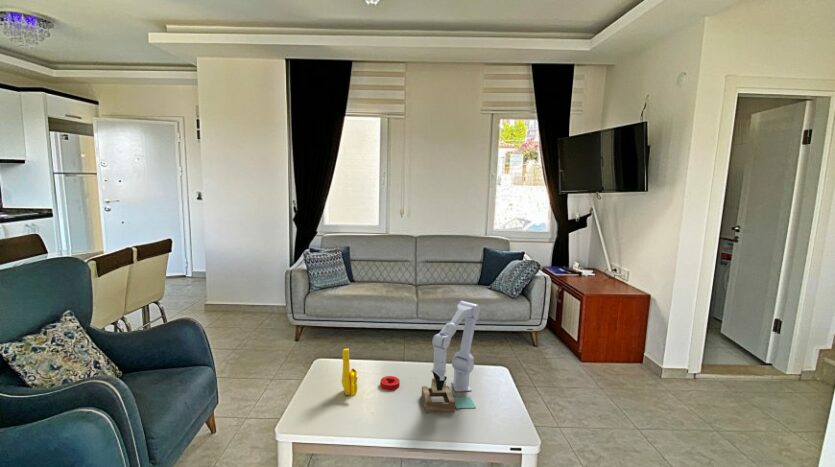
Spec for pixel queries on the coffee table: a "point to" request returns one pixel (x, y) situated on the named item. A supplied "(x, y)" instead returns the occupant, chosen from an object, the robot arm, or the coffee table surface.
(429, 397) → the slotted box
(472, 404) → the teal mat
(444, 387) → the maple block
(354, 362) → the coffee table surface
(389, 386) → the decorative ornament
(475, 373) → the coffee table surface
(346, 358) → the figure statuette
